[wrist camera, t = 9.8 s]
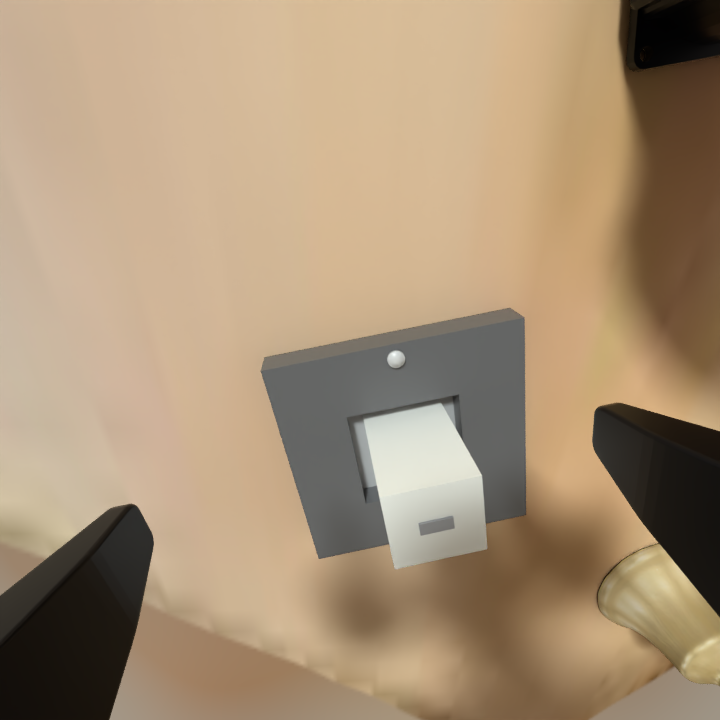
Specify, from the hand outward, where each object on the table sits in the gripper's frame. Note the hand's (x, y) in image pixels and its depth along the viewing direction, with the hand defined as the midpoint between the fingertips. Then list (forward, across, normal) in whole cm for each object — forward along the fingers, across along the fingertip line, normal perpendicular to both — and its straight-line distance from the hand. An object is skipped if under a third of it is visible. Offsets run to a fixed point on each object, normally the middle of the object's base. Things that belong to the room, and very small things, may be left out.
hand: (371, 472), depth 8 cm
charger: (+12, -2, +8) cm, 14 cm away
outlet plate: (+12, -2, +8) cm, 15 cm away
